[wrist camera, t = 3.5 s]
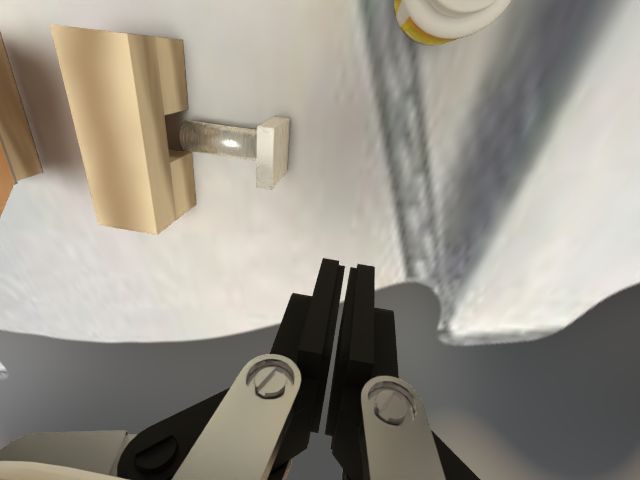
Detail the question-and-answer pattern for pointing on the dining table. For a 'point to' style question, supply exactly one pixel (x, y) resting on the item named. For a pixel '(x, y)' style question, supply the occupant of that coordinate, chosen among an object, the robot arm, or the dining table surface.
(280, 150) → the pin
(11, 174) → the flap
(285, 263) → the dining table surface
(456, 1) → the supplement bottle
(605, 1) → the dining table surface
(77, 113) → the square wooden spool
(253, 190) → the dining table surface
